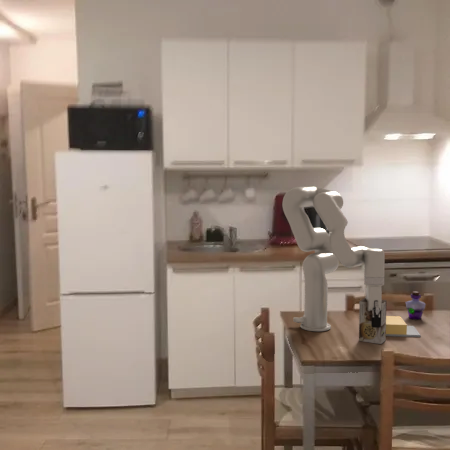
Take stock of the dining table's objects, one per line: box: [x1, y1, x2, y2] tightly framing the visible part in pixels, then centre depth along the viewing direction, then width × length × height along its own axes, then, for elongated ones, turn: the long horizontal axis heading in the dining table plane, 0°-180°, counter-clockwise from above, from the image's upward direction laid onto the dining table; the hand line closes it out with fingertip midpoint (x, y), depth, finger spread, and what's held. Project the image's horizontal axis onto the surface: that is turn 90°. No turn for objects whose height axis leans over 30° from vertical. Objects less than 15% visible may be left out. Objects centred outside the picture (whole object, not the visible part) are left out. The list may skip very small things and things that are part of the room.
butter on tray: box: [386, 315, 421, 338], centre depth 250 cm, size 22×13×5 cm, turn 85°
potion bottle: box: [405, 290, 427, 321], centre depth 271 cm, size 9×9×12 cm
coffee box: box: [358, 297, 387, 345], centre depth 238 cm, size 9×6×16 cm
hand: (373, 323), depth 238 cm, fingers open, 9 cm apart
